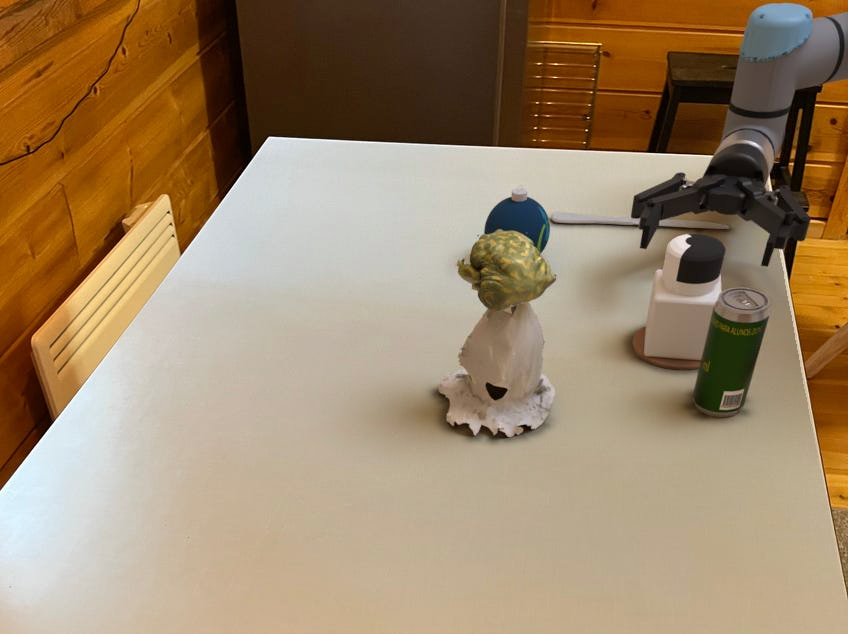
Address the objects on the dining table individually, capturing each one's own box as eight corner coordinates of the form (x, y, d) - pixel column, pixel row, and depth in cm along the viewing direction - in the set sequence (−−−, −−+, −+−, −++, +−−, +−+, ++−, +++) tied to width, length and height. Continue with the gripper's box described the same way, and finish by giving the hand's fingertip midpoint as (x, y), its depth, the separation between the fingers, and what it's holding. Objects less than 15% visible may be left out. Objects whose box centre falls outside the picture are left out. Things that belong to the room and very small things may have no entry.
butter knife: (552, 210, 136) (550, 219, 134) (729, 221, 131) (729, 230, 129) (552, 213, 136) (550, 222, 134) (728, 224, 132) (728, 233, 130)
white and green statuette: (539, 367, 109) (555, 204, 96) (565, 431, 101) (586, 261, 87) (435, 376, 109) (437, 213, 96) (453, 442, 100) (457, 272, 87)
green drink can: (753, 411, 102) (784, 305, 93) (710, 423, 101) (737, 317, 92) (724, 386, 105) (751, 281, 96) (681, 397, 104) (704, 293, 95)
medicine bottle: (707, 330, 112) (731, 228, 104) (708, 362, 108) (733, 258, 99) (645, 325, 114) (663, 225, 105) (643, 357, 109) (662, 254, 100)
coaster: (704, 321, 115) (704, 318, 114) (734, 365, 108) (734, 362, 108) (621, 328, 114) (622, 325, 114) (646, 373, 108) (647, 370, 107)
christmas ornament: (516, 284, 123) (522, 205, 116) (469, 263, 127) (472, 186, 120) (560, 262, 126) (568, 184, 119) (513, 242, 131) (518, 166, 124)
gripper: (832, 216, 120) (811, 294, 107) (634, 191, 128) (592, 261, 115) (851, 154, 115) (832, 227, 102) (643, 131, 123) (600, 197, 110)
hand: (704, 245), depth 108 cm, fingers open, 13 cm apart
